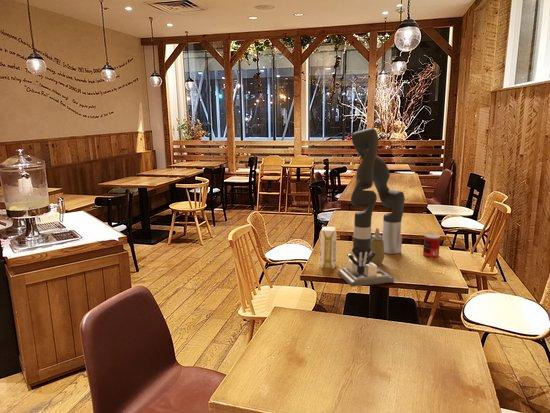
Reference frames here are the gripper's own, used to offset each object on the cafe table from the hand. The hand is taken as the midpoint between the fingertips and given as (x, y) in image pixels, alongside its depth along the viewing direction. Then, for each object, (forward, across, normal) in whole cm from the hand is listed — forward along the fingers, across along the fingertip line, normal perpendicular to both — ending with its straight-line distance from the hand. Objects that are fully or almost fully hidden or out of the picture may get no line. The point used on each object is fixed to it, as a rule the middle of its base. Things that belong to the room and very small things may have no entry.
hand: (360, 273), depth 184 cm
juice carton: (+4, +7, -21) cm, 23 cm away
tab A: (+1, 0, -7) cm, 7 cm away
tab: (+1, -5, 0) cm, 5 cm away
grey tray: (+4, -4, -3) cm, 6 cm away
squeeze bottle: (+4, -17, -18) cm, 25 cm away
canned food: (+4, -50, -22) cm, 54 cm away
